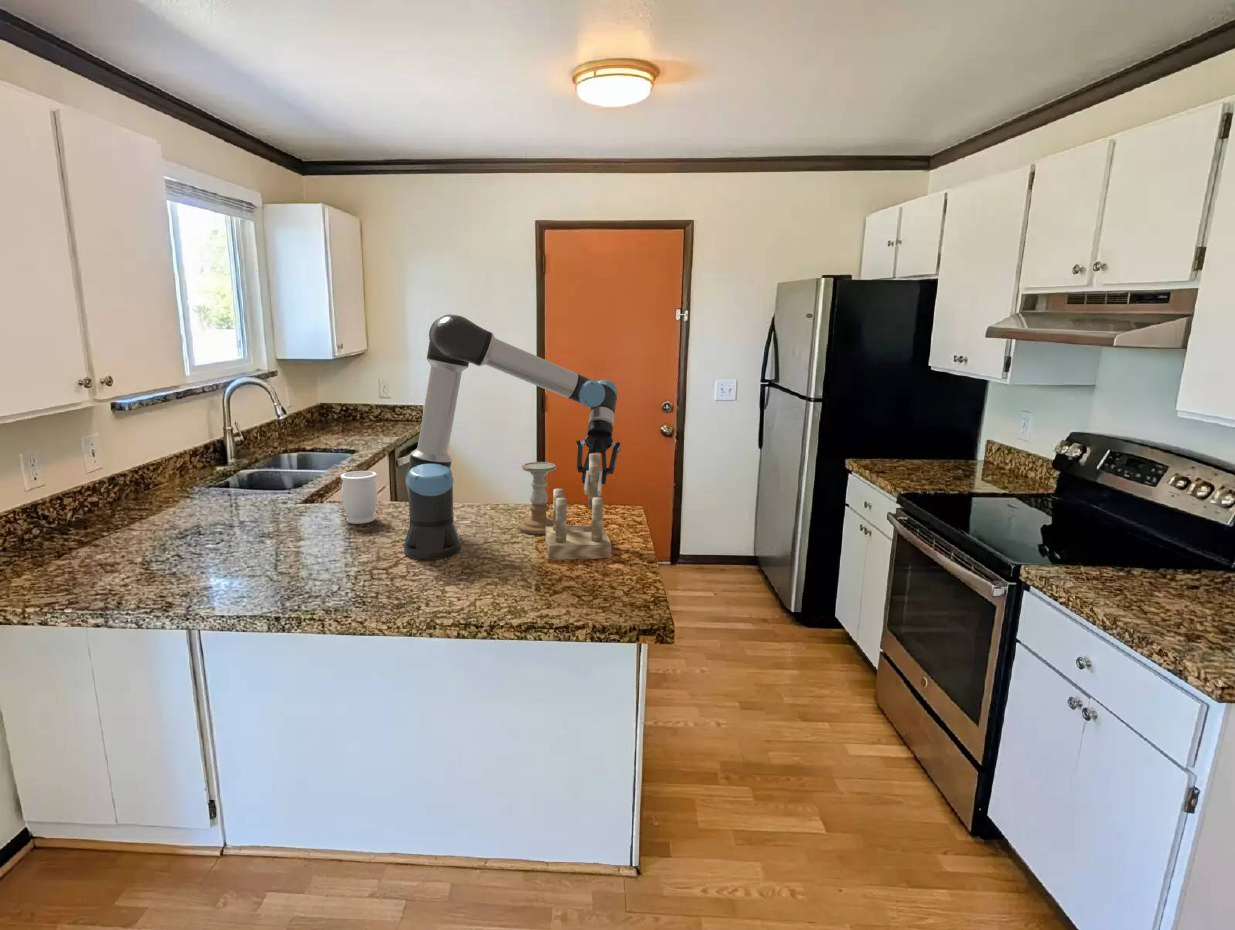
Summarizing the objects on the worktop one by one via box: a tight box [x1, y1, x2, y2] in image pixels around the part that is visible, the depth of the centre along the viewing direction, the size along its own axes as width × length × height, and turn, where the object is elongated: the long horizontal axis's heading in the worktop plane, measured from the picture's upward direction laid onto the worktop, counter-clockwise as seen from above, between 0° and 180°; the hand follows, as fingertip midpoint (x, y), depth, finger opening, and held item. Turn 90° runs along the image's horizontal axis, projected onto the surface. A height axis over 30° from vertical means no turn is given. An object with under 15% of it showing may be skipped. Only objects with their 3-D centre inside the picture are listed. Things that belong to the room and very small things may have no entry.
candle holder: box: [518, 461, 557, 536], centre depth 204 cm, size 12×12×20 cm
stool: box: [544, 488, 612, 561], centre depth 188 cm, size 17×17×16 cm
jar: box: [340, 470, 378, 525], centre depth 207 cm, size 11×10×15 cm
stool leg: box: [587, 453, 601, 511], centre depth 191 cm, size 3×3×16 cm
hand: (592, 492), depth 188 cm, fingers closed on stool leg, 3 cm apart
